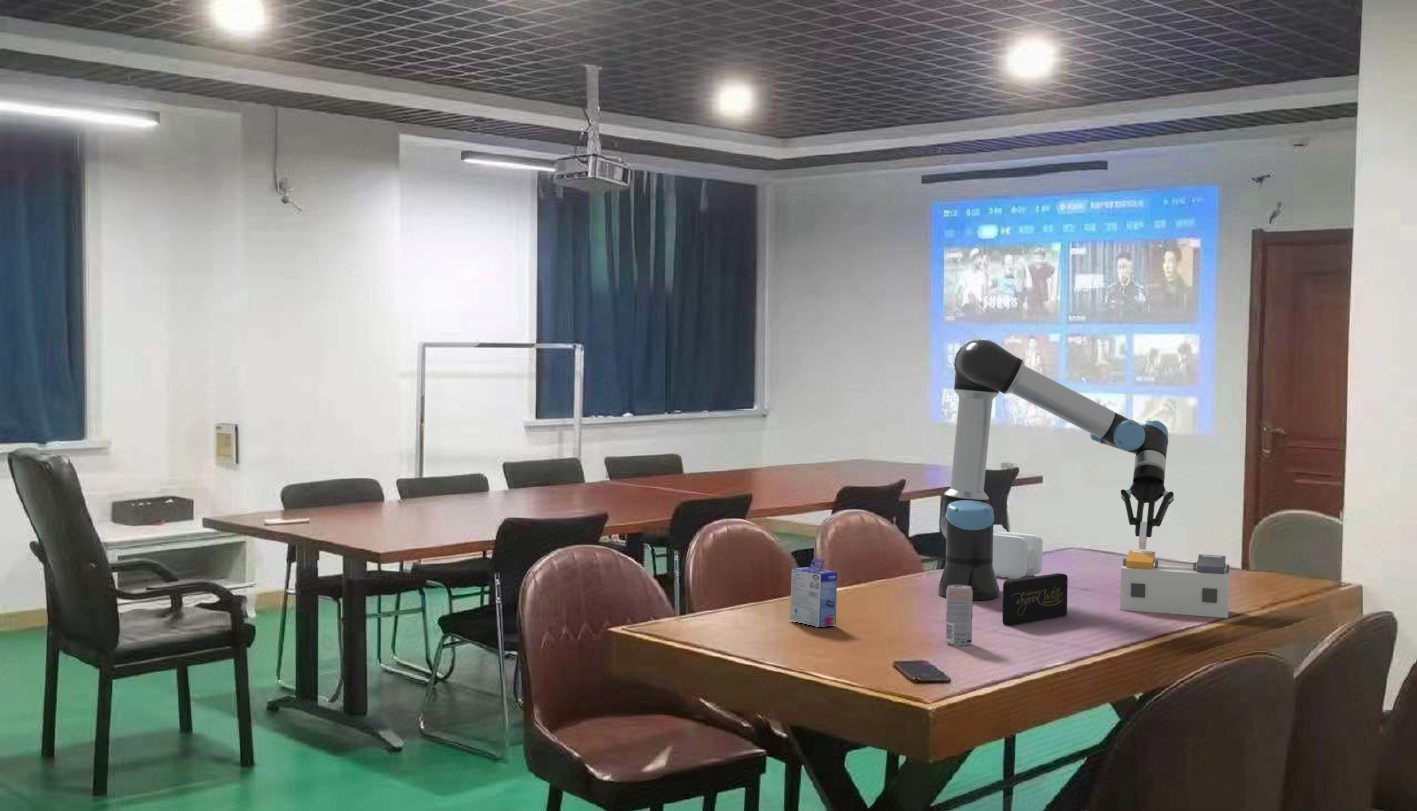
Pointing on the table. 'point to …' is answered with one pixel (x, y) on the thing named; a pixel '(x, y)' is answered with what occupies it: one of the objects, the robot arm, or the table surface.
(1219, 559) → the rocker charcoal
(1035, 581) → the nameplate
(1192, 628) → the table surface
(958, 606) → the energy drink
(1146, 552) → the rocker orange
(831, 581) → the ink cartridge box
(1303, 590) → the table surface
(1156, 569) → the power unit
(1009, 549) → the cable organizer
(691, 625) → the table surface
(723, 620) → the table surface
